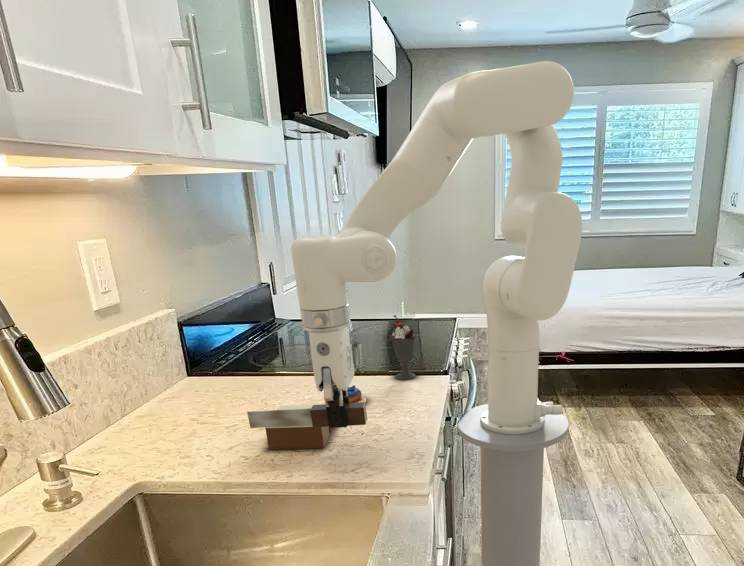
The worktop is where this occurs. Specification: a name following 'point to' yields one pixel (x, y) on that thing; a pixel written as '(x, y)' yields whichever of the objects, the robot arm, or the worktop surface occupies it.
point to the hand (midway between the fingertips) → (340, 422)
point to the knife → (305, 416)
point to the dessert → (355, 395)
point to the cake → (297, 437)
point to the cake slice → (286, 407)
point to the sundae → (403, 348)
